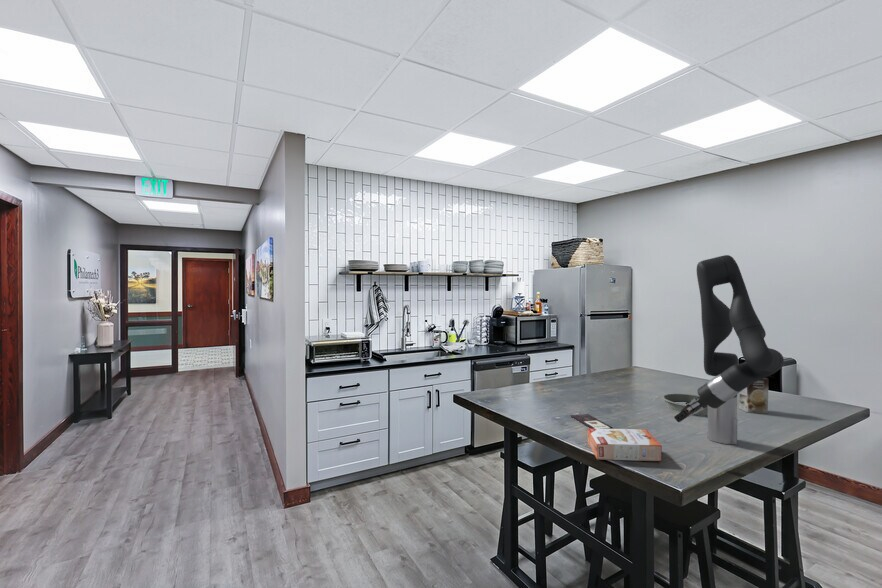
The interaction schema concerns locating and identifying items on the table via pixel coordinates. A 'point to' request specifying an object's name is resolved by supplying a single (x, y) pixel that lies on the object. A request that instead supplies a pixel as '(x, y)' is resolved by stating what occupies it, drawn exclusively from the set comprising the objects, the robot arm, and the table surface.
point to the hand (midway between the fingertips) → (676, 419)
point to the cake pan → (673, 398)
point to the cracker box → (624, 444)
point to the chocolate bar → (591, 421)
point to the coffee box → (755, 397)
